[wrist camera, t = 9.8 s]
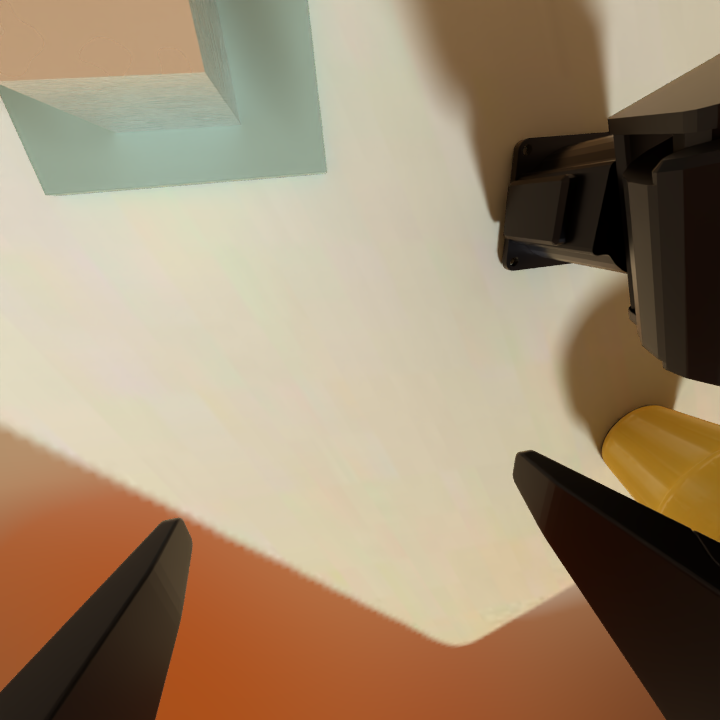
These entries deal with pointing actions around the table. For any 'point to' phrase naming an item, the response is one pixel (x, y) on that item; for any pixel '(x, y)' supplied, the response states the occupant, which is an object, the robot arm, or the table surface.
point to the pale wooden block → (121, 61)
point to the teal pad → (197, 145)
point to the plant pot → (669, 465)
